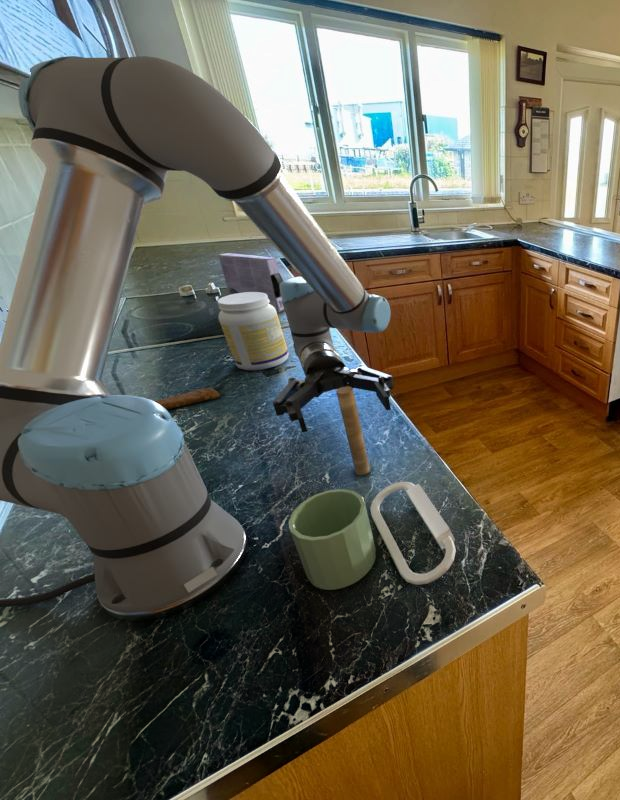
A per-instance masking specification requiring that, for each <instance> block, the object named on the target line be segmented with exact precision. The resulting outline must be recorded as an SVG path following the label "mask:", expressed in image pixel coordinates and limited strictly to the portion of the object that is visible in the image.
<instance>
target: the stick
mask: <svg viewBox="0 0 620 800" xmlns="http://www.w3.org/2000/svg"><path fill="white" fill-rule="evenodd" d="M335 392H336V397H337V401H338V404H339V409H340V413H341V418H342V422H343V426H344V430H345V435H346V438H347V439H346V440H347V443H348V447H349V452H350V455H351V461H352V464H353V468H354V471H355V472H354V473H355V475H357V476H365V475H367V474H368V473H370V471H371V467H370V462H369V458H368V453H367V448H366V444H365V438H364V433H363V430H362V429H363V428H362V425H361V420H360V415H359V411H358V406H357V401H356V397H355V392H354V388H352V387H349V386H346V387H341V388H339V389H336V391H335Z"/></svg>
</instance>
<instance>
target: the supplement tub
mask: <svg viewBox="0 0 620 800" xmlns="http://www.w3.org/2000/svg"><path fill="white" fill-rule="evenodd" d="M269 302H270V301H269V299H268V296H267V294H265V293H261V292H244V293H236V294H231V295H229V294H228V295H224V296H222V297H220V298H218V299H217V305H218V309H219V310H220V311H219V313H218V316H217V317H218V322H219V323H220V324H219V325H220V326H221V329H222V332H223V335H224V338H225V340H226V343H227V345H228V348H229V351H230V353H231V356H232V360H233V363H234V364H235V366H236V367H237V368H238V369H240V370H245V371H260V370H261V371H263V370H267V369H271V368H274V367H277V366H279V365H281V364H283V363H285V362H286V361H287V360H288V358H289V350H288V346H287V343H286V340H285V335H284V333H283V329H282V326H281V322H280V319H279V316H278V312H276V309H275V308H274V307H273V306H272V305H270V304H269Z"/></svg>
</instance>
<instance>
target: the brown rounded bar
mask: <svg viewBox="0 0 620 800" xmlns="http://www.w3.org/2000/svg"><path fill="white" fill-rule="evenodd" d="M220 396H221V395H220V393H219V392H218V391H217V390H216V389H214V388H213V387H205V388H200V389H197V390H193V391H189V392H184V393H182V394H176V395H173V396H169V397H166V398H162V399H158V400H153V401H154V402H157V403H158V404H160V405H161V406H163V407H164V408H165V409H166V410H167V411H168V410H171V409H175V408H179V407H183V406H190V405H192V404H196V403H202V402H205V401H209V400H214V399H218V398H219V397H220Z"/></svg>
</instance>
